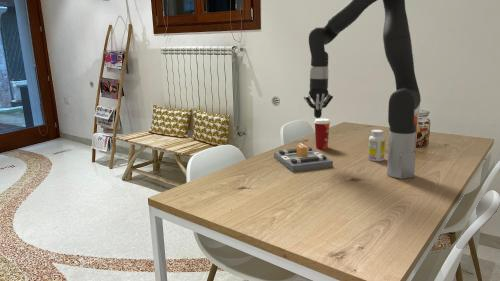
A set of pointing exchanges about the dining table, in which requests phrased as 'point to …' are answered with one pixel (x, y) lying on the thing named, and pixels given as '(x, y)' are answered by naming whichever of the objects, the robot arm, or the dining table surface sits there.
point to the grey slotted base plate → (300, 160)
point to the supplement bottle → (376, 146)
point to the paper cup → (322, 133)
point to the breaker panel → (286, 161)
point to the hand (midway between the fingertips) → (317, 117)
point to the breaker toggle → (302, 150)
